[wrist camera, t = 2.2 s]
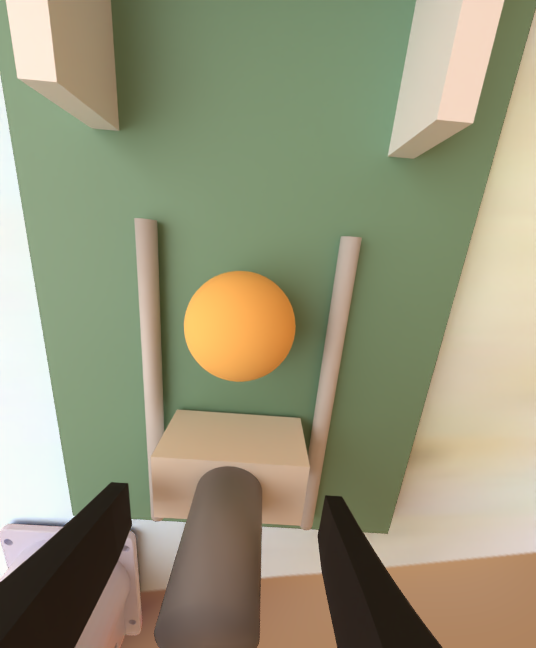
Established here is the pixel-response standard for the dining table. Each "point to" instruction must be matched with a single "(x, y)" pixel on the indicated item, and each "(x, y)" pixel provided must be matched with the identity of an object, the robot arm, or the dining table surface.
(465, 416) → the dining table surface
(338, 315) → the pitch
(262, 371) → the ball
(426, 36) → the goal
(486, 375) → the dining table surface
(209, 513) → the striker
